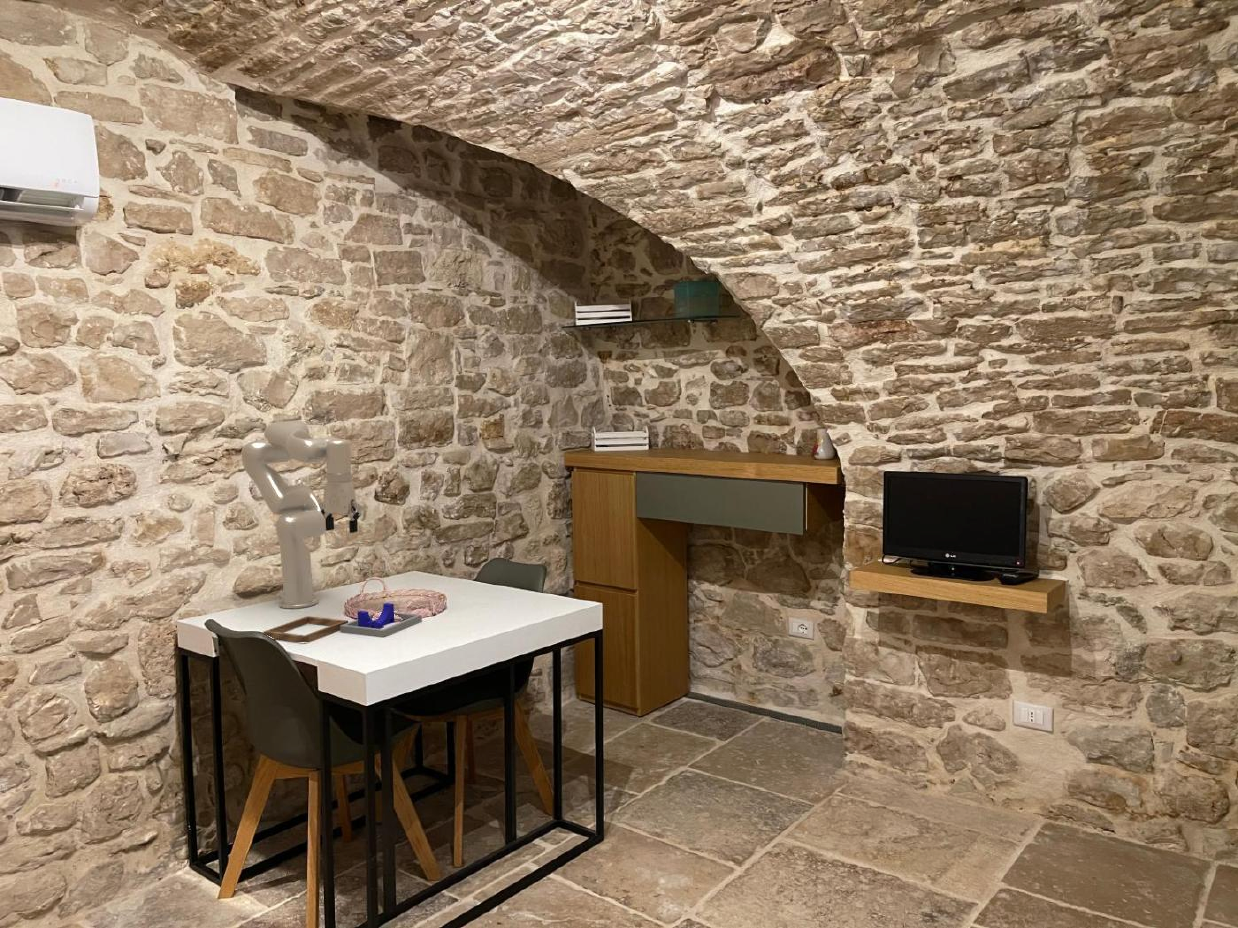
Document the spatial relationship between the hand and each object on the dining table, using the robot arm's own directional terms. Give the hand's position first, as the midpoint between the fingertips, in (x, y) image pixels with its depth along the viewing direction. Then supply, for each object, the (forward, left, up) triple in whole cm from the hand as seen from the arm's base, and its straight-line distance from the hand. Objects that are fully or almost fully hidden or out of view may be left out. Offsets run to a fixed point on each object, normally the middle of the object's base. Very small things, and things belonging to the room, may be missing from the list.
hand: (341, 531), depth 305 cm
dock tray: (+20, -7, -28) cm, 35 cm away
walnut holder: (+2, -20, -28) cm, 34 cm away
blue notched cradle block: (+18, -7, -28) cm, 34 cm away
